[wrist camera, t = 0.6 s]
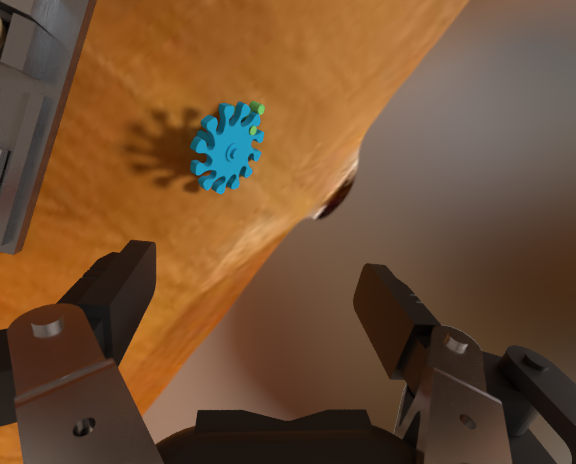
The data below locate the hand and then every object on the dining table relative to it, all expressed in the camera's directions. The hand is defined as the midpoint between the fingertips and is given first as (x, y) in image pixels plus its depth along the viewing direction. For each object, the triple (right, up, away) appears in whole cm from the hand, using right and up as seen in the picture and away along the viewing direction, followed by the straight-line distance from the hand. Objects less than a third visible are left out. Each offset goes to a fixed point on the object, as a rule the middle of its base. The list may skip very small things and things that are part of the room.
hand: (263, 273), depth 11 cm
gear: (-6, +12, +24) cm, 27 cm away
